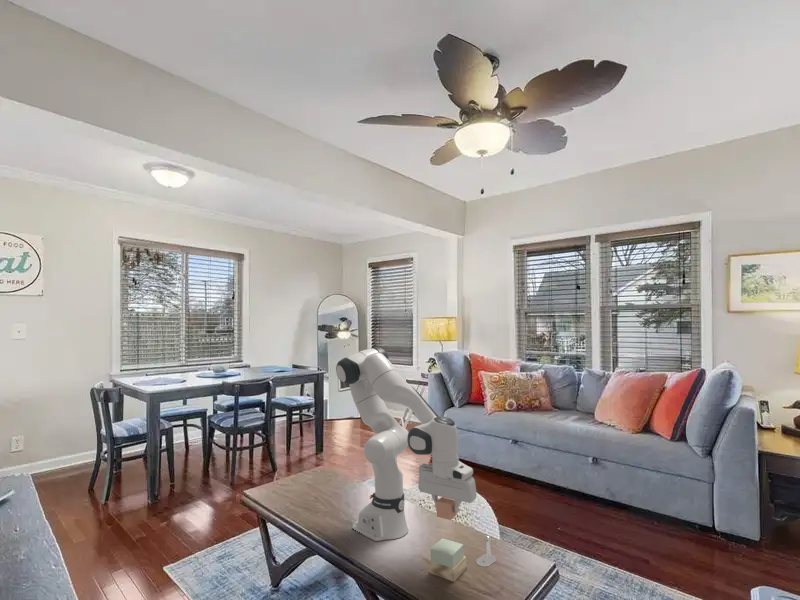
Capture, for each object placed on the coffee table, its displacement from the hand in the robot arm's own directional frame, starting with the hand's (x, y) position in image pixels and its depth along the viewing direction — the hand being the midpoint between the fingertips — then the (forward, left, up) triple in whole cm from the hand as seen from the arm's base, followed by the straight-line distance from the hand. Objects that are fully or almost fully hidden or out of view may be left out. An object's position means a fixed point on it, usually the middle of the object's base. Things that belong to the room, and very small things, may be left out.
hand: (447, 510), depth 144 cm
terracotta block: (0, 0, -2) cm, 2 cm away
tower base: (0, 0, -20) cm, 20 cm away
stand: (+8, +12, -20) cm, 25 cm away
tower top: (0, 0, -16) cm, 16 cm away
